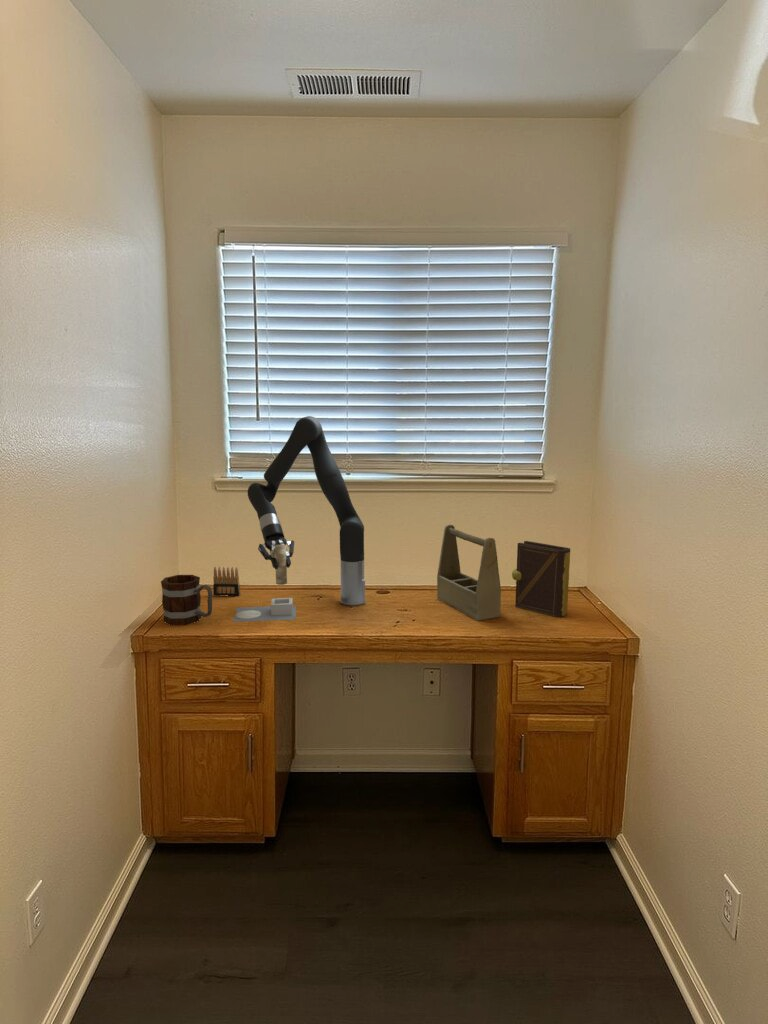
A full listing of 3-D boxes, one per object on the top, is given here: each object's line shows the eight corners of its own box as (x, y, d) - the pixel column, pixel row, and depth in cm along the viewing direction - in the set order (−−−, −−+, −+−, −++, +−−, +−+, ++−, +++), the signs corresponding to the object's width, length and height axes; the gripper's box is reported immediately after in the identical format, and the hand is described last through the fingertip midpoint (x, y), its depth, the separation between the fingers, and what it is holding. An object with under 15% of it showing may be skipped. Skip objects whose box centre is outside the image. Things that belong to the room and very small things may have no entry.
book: (570, 613, 245) (573, 548, 241) (559, 619, 239) (562, 552, 235) (518, 601, 260) (521, 539, 256) (507, 606, 254) (509, 542, 250)
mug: (154, 623, 235) (152, 582, 232) (178, 611, 247) (176, 573, 245) (201, 629, 228) (199, 588, 226) (223, 617, 241) (222, 577, 238)
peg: (287, 581, 243) (285, 544, 240) (287, 584, 239) (285, 546, 236) (276, 581, 242) (274, 544, 240) (275, 585, 238) (274, 547, 236)
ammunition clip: (240, 595, 268) (239, 566, 266) (239, 596, 266) (238, 567, 264) (214, 594, 269) (213, 566, 267) (213, 596, 267) (211, 567, 265)
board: (296, 609, 250) (295, 595, 249) (295, 623, 235) (295, 608, 234) (237, 611, 248) (236, 597, 247) (232, 625, 232) (232, 610, 231)
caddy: (436, 599, 263) (437, 525, 258) (459, 595, 267) (460, 523, 262) (476, 621, 237) (478, 539, 232) (501, 617, 241) (503, 537, 236)
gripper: (254, 524, 240) (265, 564, 232) (291, 520, 247) (303, 559, 238) (250, 536, 246) (261, 575, 237) (287, 532, 252) (299, 570, 244)
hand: (282, 567), depth 238 cm, fingers closed on peg, 4 cm apart
